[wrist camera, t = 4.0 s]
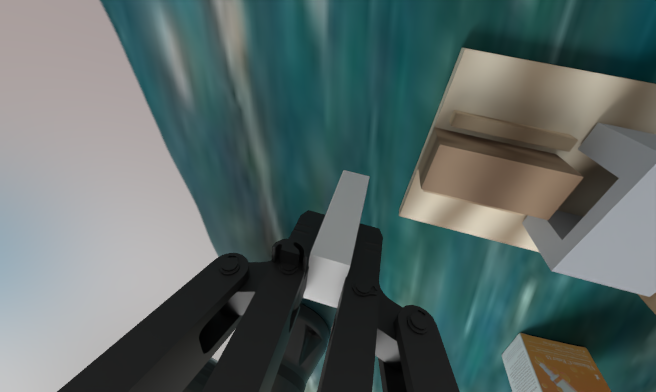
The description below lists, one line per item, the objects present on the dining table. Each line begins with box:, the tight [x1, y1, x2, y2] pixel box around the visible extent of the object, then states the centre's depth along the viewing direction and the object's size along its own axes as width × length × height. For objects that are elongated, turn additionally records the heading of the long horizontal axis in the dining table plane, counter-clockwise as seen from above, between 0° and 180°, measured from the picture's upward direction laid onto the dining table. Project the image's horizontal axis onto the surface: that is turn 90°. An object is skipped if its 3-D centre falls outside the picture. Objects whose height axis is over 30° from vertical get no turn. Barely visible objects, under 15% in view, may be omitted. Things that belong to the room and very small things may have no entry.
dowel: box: [418, 127, 584, 220], centre depth 22 cm, size 10×4×4 cm, turn 82°
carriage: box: [522, 123, 656, 297], centre depth 20 cm, size 7×10×6 cm
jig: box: [399, 48, 656, 314], centre depth 19 cm, size 24×16×10 cm, turn 82°
